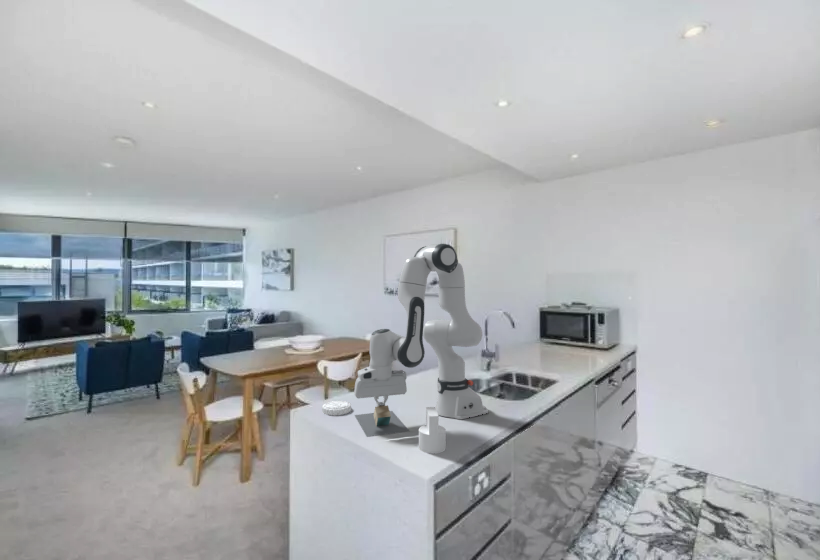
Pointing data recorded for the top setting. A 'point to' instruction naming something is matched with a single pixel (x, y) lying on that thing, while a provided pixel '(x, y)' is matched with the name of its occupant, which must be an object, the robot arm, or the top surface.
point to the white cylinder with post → (432, 433)
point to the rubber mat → (372, 430)
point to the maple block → (382, 415)
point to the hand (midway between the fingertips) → (380, 407)
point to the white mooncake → (336, 408)
